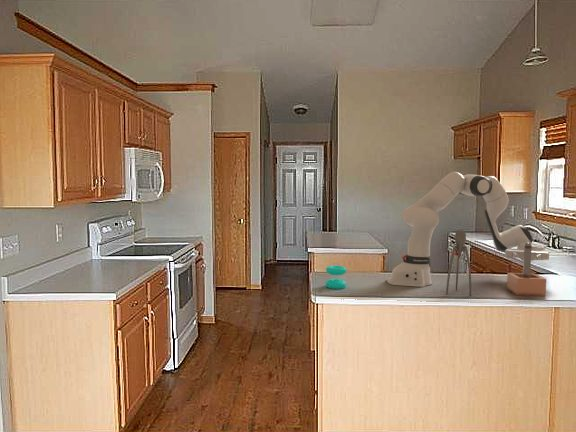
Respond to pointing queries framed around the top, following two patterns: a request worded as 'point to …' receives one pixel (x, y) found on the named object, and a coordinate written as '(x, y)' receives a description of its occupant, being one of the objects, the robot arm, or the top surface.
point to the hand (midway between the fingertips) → (527, 256)
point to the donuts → (336, 282)
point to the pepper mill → (527, 260)
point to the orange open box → (526, 284)
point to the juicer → (460, 242)
